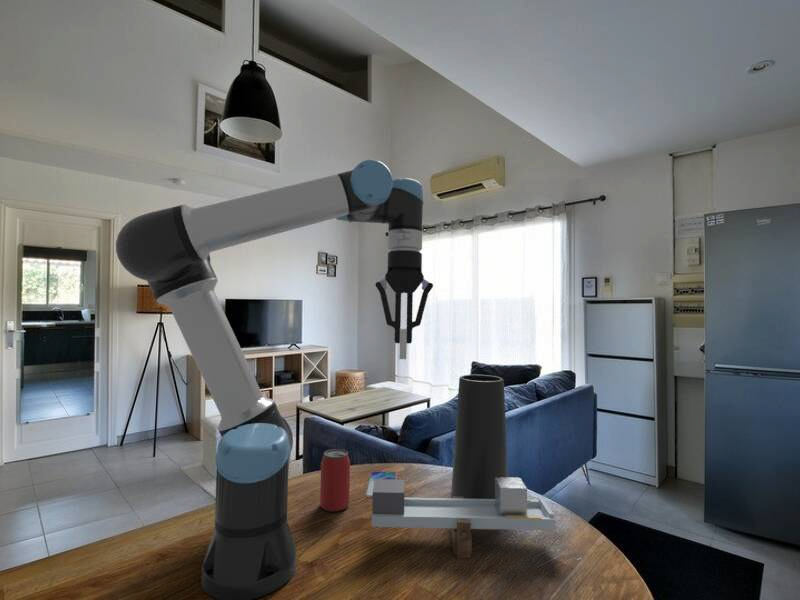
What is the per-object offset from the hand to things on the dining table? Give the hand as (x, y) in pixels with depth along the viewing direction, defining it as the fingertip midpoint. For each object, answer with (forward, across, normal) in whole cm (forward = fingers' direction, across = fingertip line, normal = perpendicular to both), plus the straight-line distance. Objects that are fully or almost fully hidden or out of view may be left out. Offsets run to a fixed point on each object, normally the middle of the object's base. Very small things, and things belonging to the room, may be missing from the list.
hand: (402, 358), depth 90 cm
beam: (+30, +12, -9) cm, 34 cm away
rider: (+29, +22, -9) cm, 37 cm away
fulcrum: (+34, +12, -9) cm, 38 cm away
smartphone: (+35, -5, +16) cm, 39 cm away
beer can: (+35, -15, +4) cm, 38 cm away
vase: (+35, +19, +10) cm, 41 cm away
